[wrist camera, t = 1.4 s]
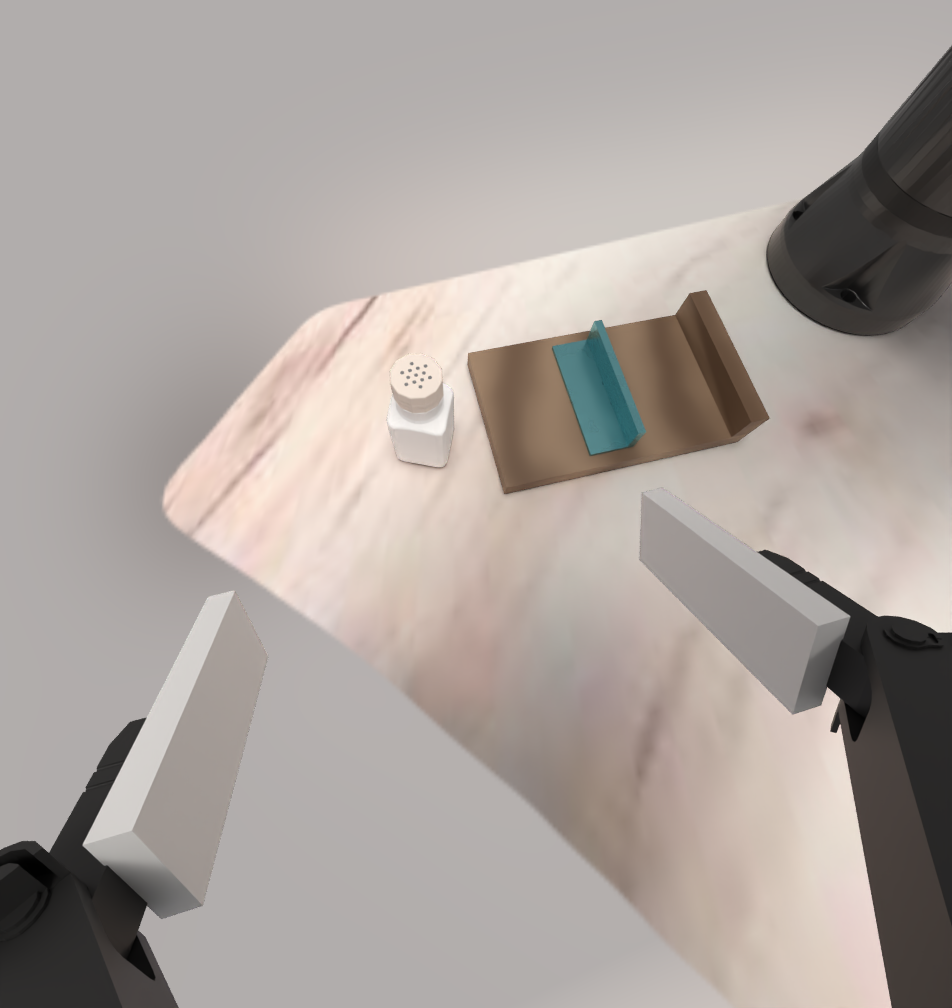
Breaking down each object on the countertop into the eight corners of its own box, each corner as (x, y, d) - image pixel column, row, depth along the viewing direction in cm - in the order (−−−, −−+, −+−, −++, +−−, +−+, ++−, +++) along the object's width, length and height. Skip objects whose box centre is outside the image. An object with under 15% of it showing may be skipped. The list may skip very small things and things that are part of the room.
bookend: (592, 340, 37) (601, 319, 35) (633, 446, 35) (646, 432, 32) (551, 348, 37) (558, 327, 35) (589, 456, 34) (599, 442, 32)
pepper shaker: (455, 426, 36) (455, 352, 27) (445, 471, 35) (442, 410, 26) (406, 417, 36) (390, 341, 27) (395, 462, 35) (375, 398, 26)
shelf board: (682, 323, 40) (706, 290, 36) (737, 441, 37) (769, 418, 33) (467, 364, 38) (469, 332, 34) (504, 494, 35) (510, 475, 31)
